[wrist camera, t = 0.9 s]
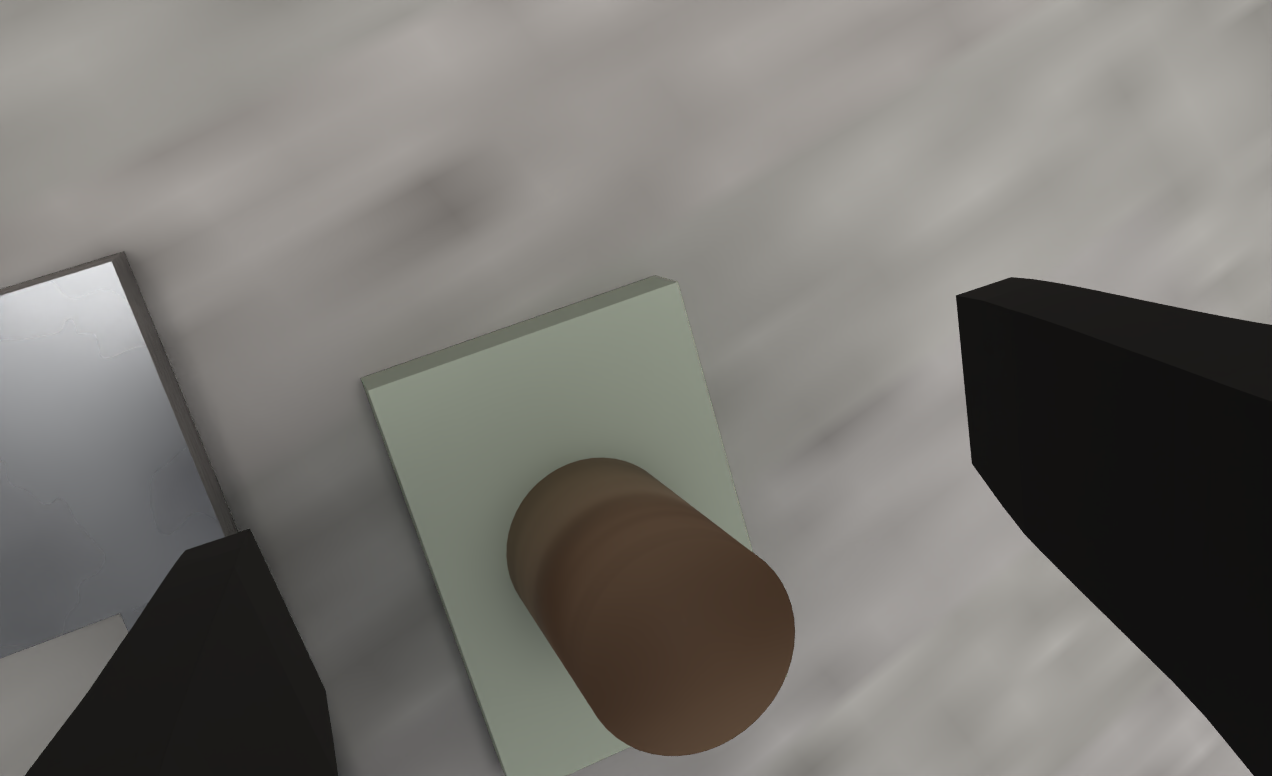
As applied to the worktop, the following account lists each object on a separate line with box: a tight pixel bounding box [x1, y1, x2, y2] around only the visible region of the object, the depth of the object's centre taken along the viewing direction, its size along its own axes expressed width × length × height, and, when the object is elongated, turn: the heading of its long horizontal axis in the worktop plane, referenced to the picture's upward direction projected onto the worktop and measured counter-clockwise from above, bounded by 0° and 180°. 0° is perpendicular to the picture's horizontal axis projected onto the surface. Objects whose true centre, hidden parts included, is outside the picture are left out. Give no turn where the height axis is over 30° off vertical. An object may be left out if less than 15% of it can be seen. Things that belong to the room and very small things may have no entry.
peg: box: [506, 458, 795, 756], centre depth 24 cm, size 4×4×6 cm
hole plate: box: [0, 252, 238, 658], centre depth 24 cm, size 18×10×3 cm, turn 17°
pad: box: [361, 276, 787, 776], centre depth 27 cm, size 10×7×2 cm
